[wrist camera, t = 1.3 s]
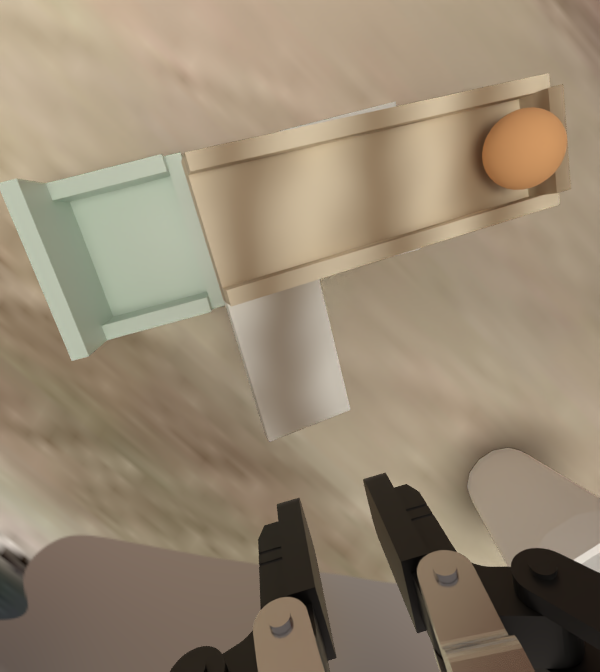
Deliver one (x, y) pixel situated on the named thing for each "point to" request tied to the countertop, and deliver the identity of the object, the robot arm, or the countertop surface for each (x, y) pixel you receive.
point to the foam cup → (534, 508)
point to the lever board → (345, 223)
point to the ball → (524, 148)
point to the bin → (115, 249)
